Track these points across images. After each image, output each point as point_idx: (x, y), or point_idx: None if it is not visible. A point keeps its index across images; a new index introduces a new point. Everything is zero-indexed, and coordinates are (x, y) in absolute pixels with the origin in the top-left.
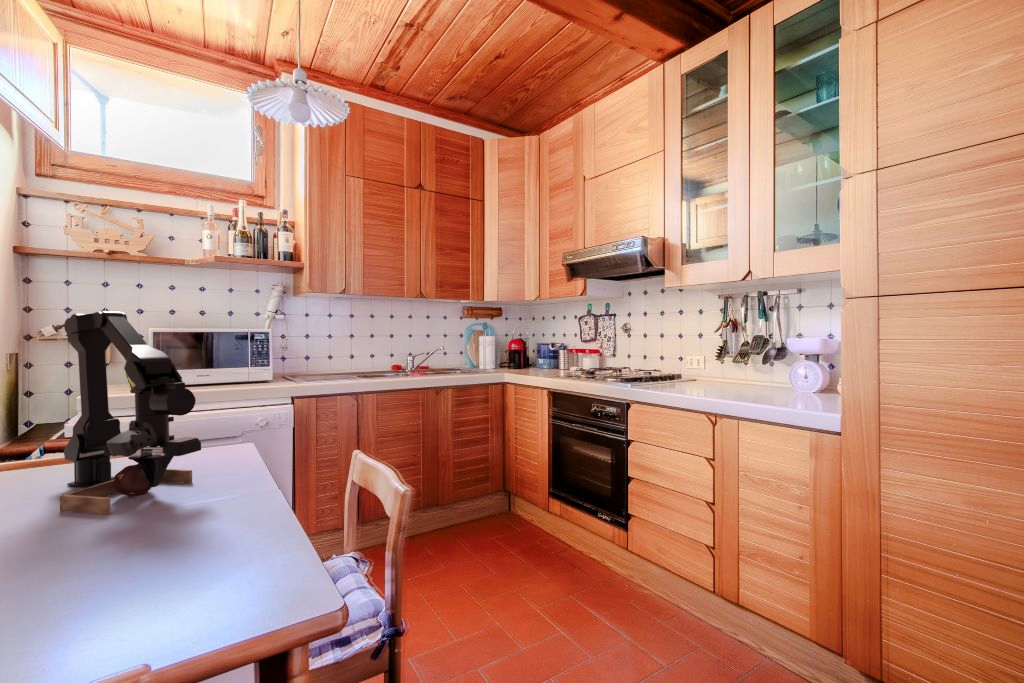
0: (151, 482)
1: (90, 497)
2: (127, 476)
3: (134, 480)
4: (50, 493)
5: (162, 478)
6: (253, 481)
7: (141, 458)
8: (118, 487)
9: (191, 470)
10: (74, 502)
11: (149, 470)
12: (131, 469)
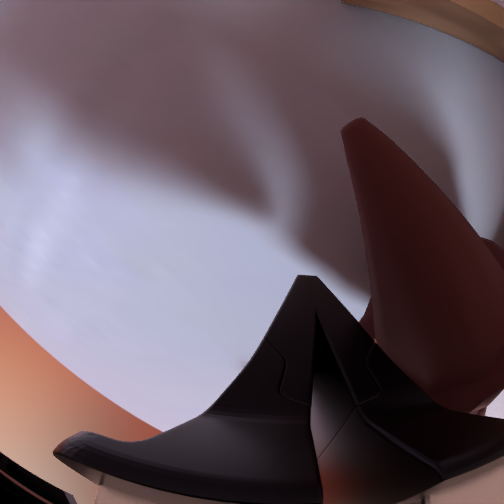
0: (310, 290)
1: (493, 7)
2: (482, 281)
3: (391, 220)
4: None
5: None
6: (104, 383)
7: (407, 474)
8: (494, 252)
9: None
10: None
11: (332, 365)
12: (490, 362)
